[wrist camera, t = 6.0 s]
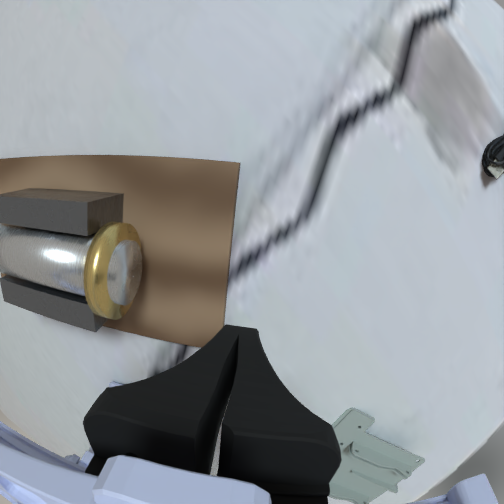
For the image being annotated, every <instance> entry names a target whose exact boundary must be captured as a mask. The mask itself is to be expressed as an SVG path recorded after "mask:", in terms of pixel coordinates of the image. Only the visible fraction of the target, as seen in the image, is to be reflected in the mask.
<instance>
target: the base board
mask: <svg viewBox="0 0 504 504" xmlns="http://www.w3.org/2000/svg"><path fill="white" fill-rule="evenodd" d="M239 171H240V163H236V162H226V161H215V160H203V159H190V158H174V157H155V156H127V155H64V156H38V157H20V158H7V159H0V194H3V193H8V192H13V191H18V190H23V189H28V188H42V189H64V190H82V191H98V192H112V193H124V200H123V223H128V224H131V225H132V226H134V228H135V229H136V231H137V233H138V235H139V238H140V243H141V252H142V275H141V280H140V285H139V288H138V291H137V293H136V295H135V298H134V300H133V303H132V305H131V307H130V308H129V310H128V311H127V313H126V314H125V315H124V316H123V317H121V318H120V319H117V320H113V319H108V320H107V321H106V322H105V323H104V324H103V325H102V326H106V327H109V328H113V329H117V330H121V331H125V332H129V333H134V334H138V335H142V336H146V337H151V338H156V339H160V340H165V341H170V342H175V343H180V344H185V345H190V346H195V347H201V348H202V347H203V346H204V345H205V344H207V343H208V342H209V341H210V340H211V339H212V338H213V337H214V336H215V335H216V334H217V333H218V332H219V331H220V330H221V328H222V327H223V326H224V320H225V308H226V298H227V287H228V276H229V266H230V256H231V246H232V236H233V226H234V217H235V207H236V198H237V189H238V180H239ZM6 275H7V274H4V273H1V277H4V276H6Z"/></svg>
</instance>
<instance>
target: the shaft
mask: <svg viewBox="0 0 504 504" xmlns="http://www.w3.org/2000/svg"><path fill="white" fill-rule="evenodd" d="M0 272H1V273H4V274H7V275H10V276H13V277H17V278H20V279H23V280H26V281H30V282H33V283H37V284H40V285H44V286H47V287H51V288H55V289H58V290H62V291H66V292H70V293H74V294H78V295H82V296H86V300H87V303H88V305H89V307H90V309H91V310H92V312H93V313H94V314H96V315H98V316H101V317H105V318H109V319H113V320H117V319H120V318H121V317H123V316H124V315H125V314H126V313H127V311H128V310H129V308H130V307H131V305H132V303H133V300H134V298H135V295H136V293H137V291H138V288H139V285H140V280H141V275H142V252H141V243H140V238H139V235H138V233H137V231H136V229H135V228H134V226H132V225H131V224H128V223H121V222H108V223H106V224H105V225H103V226H102V227H101V228H100V229H99V230H98V232H97V233H96V235H89V236H84V235H77V234H70V233H63V232H56V231H50V230H43V229H36V228H29V227H23V226H16V225H9V224H3V223H0Z"/></svg>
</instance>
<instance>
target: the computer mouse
mask: <svg viewBox="0 0 504 504" xmlns="http://www.w3.org/2000/svg"><path fill="white" fill-rule="evenodd" d="M482 165H483V167H484V171H485V173H486V174H487V175H488V176H492V177H495V178H496V179H498V178H499V177H500V176H501V175H502V174H503V173H504V135H503V136H500V137H498V138H496V139H494V140H493V141H492V142H490V143H489V144H488V145H487V147H486V148H485V151H484V155H483V159H482Z"/></svg>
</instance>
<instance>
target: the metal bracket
mask: <svg viewBox="0 0 504 504" xmlns="http://www.w3.org/2000/svg"><path fill="white" fill-rule="evenodd" d="M374 422H375V419H374V418H373V417H371V416H369V415H367V414H365V413H363V412H361V411H359V410H357V409H355V408H350V409H348V410H346V411H345V412H344V413H343V414H342V415H341V416H340V417H339V418H338V419H337V420H336V421H335V422H334V423H333V424H332V427H333V429H334V432H335V434H336V437H337V440H338V443H339V446H340V450H341V459H342V461H341V464H340V466H339V468H338V470H337V471H336V473H335V475H334V476H333V478H332V480H331V481H330V483H329V485H330V495H329V497H331V498H334V499H339V500H347V501H350V502H353V503H354V504H369V502H371V501H372V500H374V499H375V498H377V497H378V496H380V495H381V494H383V493H384V492H386V491H387V490H389V491H391V492H394V493H397V492H398V487H397V483H398V482H400V481H401V480H402V479H407V478H408V477H409V476H411V474H412V472H413V471H414V470H415V469H416V468H418V467H419V466H420V465H421V464H423V463H424V462H425V459H424V458H422V457H420V456H417V455H415V454H412V453H410V452H408V451H405V450H403V449H401V448H399V447H396V446H394V445H392V444H390V443H387V442H385V441H383V440H381V439H379V438H377V437H374V436H372V435H370V434H368V433H366V432H365V431H366V430H367V429H368V428H369V427H370V426H371V425H372V424H373V423H374ZM358 426H361V427H360V428H359V427H358ZM340 443H343V444H340ZM416 460H419V461H417V462H416Z"/></svg>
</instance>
